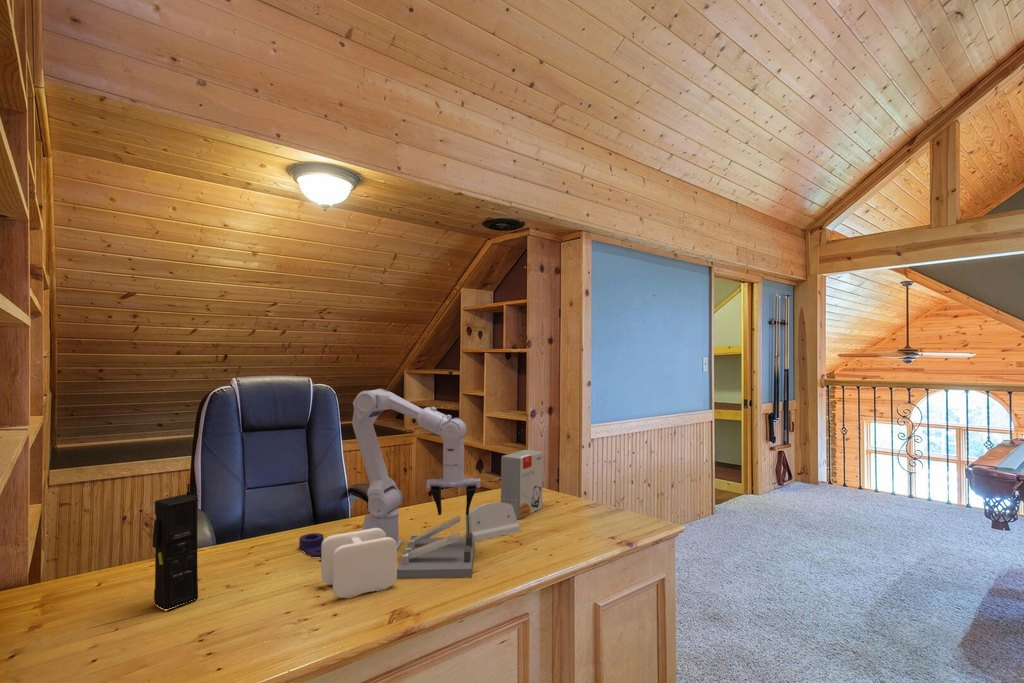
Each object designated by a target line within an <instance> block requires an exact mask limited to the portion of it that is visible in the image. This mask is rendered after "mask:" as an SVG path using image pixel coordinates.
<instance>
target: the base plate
mask: <svg viewBox="0 0 1024 683" xmlns="http://www.w3.org/2000/svg"><path fill="white" fill-rule="evenodd" d="M418 535H419V534H417V533H416V534H411V535H410V539H409V540H408V542H407V543H408V544H407V546H406V547H405V549H404V552H403V554H402V556H401V559H400V561H399V564H398V565H397V579H436V578H437V579H440V578H441V579H442V578H444V579H445V578H447V579H449V578H450V579H451V578H472V573H473V563H474V555H475V544H476V542H475V537H472V533H467V535H465V536H460V540H459V541H456V542H454V543H451V544H448V545H446V546H443V547H440V548H438V549H435V550H433V551H430V552H427V553H425V554H422V555H419V556H417V557H414V558H411V559H409V555H405V553H406V551H411V550H414V549H416V548H419V547H422V546H424V545H427V544H430V543H432V542H435V541H438V540H440V539H443V538H445V537H443V536H440V537H433V536H432V537H429V538H427V539H425V540H423V541H421V542H419V543H417V544H415V540H411V539H412V538H413V537H416V536H418Z"/></svg>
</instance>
